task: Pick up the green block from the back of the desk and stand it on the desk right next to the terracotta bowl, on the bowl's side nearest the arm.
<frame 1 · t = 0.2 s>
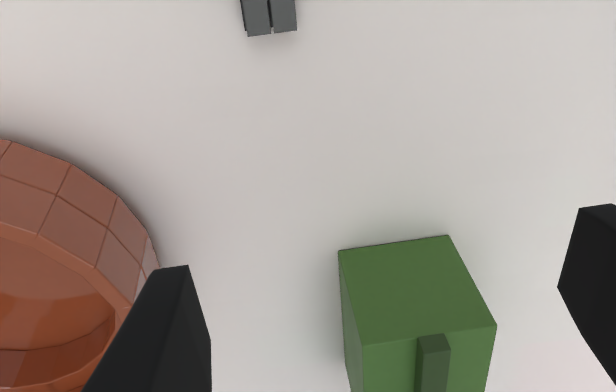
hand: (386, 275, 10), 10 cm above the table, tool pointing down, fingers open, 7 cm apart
bowl: (3, 261, 21), on the table
green block: (392, 304, 25), on the table
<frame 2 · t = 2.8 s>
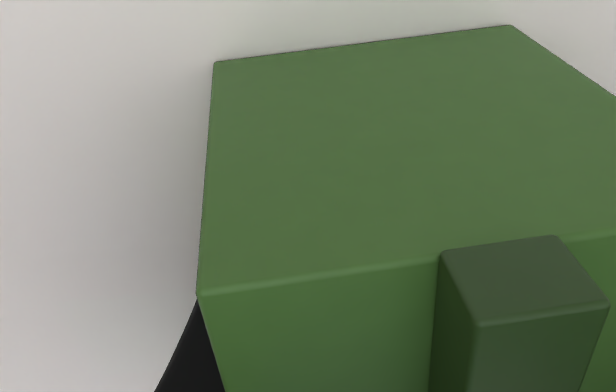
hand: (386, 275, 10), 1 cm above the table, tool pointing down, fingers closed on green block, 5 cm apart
green block: (368, 229, 11), on the table, touching gripper
when the fingers open (1 cm above the table, at t = 7.4 s): green block stays where it is, on the table.
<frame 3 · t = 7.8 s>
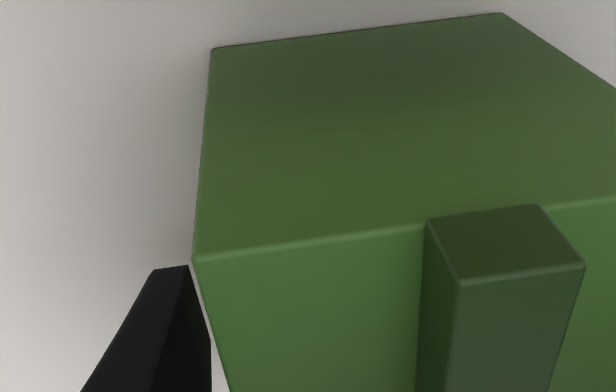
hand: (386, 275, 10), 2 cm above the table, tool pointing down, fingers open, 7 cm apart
green block: (363, 216, 11), on the table
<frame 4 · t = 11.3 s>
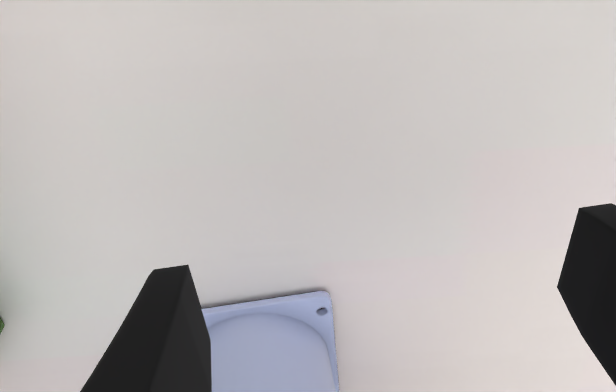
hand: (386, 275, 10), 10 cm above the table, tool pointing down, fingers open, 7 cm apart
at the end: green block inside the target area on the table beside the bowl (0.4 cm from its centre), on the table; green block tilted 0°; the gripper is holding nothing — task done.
